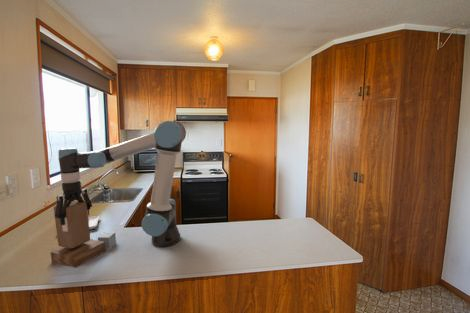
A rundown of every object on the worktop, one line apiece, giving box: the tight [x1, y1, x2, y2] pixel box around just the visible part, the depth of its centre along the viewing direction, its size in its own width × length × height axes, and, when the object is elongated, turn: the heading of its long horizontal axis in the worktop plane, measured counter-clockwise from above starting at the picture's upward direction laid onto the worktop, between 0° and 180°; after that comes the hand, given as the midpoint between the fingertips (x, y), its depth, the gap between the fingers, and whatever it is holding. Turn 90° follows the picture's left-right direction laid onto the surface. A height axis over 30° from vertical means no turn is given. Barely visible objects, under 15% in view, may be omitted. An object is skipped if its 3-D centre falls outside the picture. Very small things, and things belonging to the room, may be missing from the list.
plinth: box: [50, 238, 107, 269], centre depth 123 cm, size 16×16×5 cm
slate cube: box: [97, 231, 117, 249], centre depth 134 cm, size 6×6×6 cm
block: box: [53, 200, 91, 248], centre depth 122 cm, size 10×10×20 cm
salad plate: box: [55, 215, 101, 234], centre depth 160 cm, size 21×21×3 cm
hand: (76, 226), depth 122 cm, fingers closed on block, 10 cm apart
